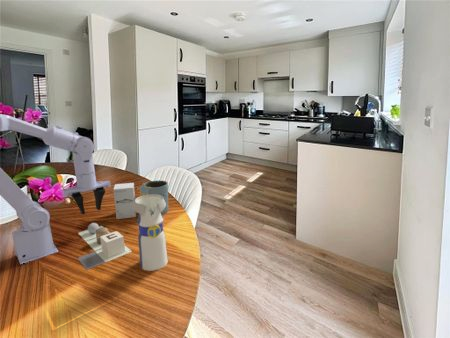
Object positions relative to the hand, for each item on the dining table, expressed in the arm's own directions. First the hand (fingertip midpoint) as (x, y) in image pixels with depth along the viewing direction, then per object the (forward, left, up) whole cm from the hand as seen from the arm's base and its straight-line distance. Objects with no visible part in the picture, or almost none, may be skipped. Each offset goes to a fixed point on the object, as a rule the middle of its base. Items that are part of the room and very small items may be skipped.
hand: (90, 211), depth 92 cm
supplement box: (+15, +7, -9) cm, 19 cm away
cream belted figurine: (+6, -31, -9) cm, 33 cm away
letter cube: (0, -17, -8) cm, 19 cm away
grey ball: (0, 0, -8) cm, 8 cm away
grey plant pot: (+26, +2, -9) cm, 27 cm away
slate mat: (-6, -17, -8) cm, 20 cm away
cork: (0, -8, -8) cm, 12 cm away
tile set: (0, -8, -8) cm, 12 cm away
